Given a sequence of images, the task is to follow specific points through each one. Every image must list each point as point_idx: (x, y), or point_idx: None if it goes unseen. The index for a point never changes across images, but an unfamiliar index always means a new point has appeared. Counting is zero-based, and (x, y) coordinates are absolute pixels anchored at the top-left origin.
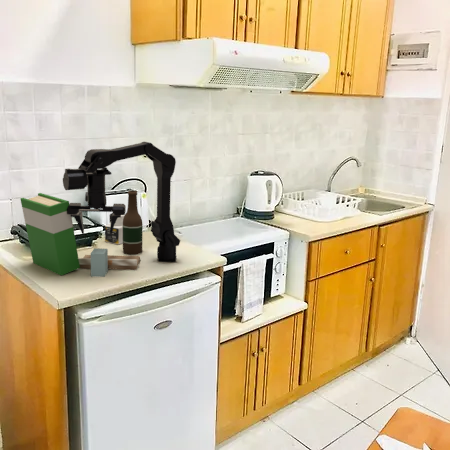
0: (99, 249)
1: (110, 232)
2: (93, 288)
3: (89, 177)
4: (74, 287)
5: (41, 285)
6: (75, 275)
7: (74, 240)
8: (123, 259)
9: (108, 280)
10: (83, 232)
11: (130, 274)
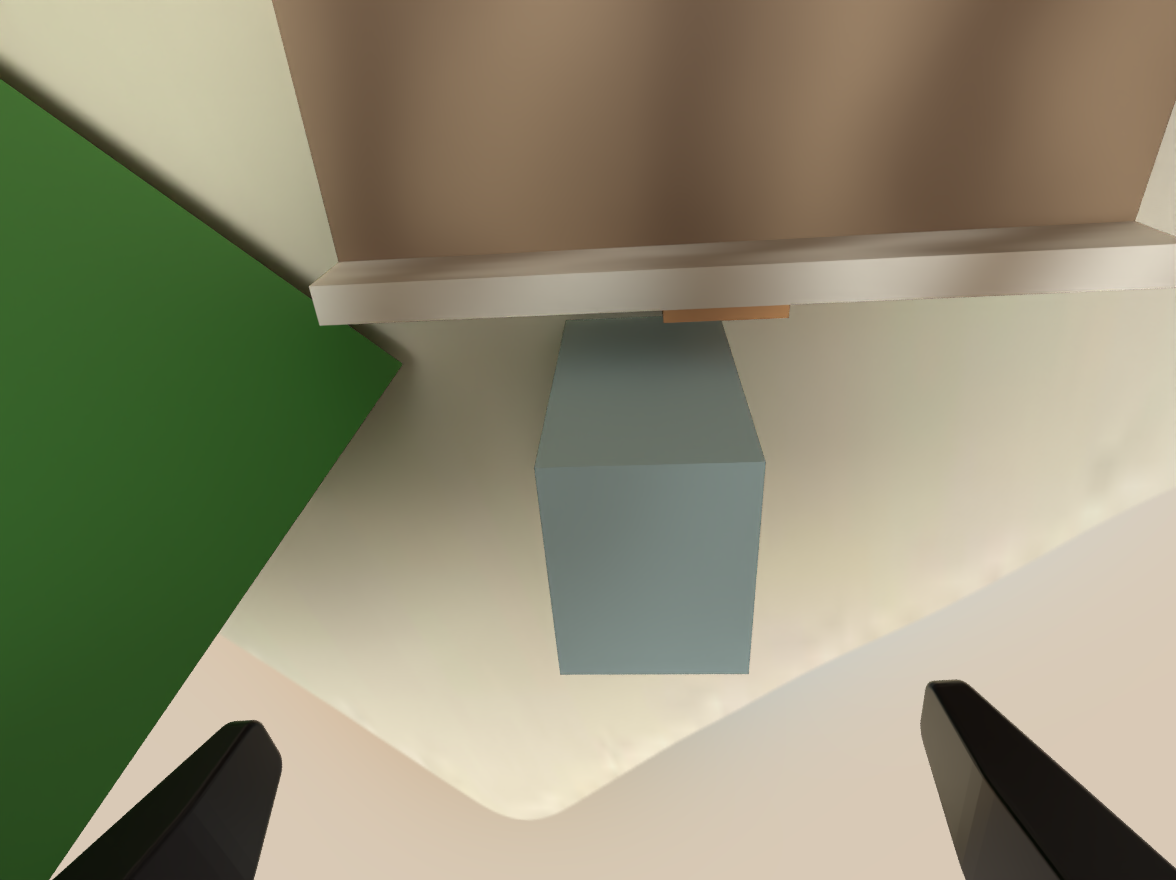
0: (637, 512)
1: (946, 794)
2: (667, 694)
3: None
4: (524, 686)
5: (278, 670)
6: (426, 476)
7: (190, 668)
8: (967, 271)
9: (761, 558)
10: (270, 800)
11: (985, 399)
